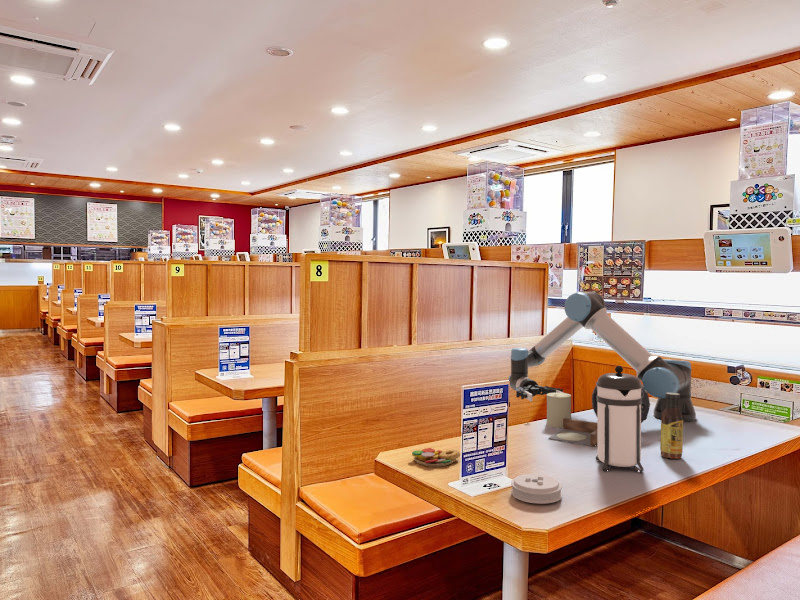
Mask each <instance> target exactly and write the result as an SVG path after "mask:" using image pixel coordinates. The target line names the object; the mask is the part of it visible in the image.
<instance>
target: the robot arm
mask: <svg viewBox="0 0 800 600" xmlns="http://www.w3.org/2000/svg"><path fill="white" fill-rule="evenodd" d="M605 301H606V300H605V299H604V297H603V295H601V294H599V293H598V292H596V291H577V292H574V293H572V294H570V295H569V296H568V297H567V299H565V302H564V312H565V316H566V318H565V319H564V320H562V322H560V323H559V324H558V325H556V326H555V327H554V328H553V329H552V330H550V332H549V333H548V334H546V335H545V336H544V337H543V338H541V340H539V341H538V342H537V343H536V344H535V345H534V346H533V347H532V348H530V349H529V350H528V349H527V347H526V348H525V347H513V348H512V349H511V353H510V375H509V377H508V379H507V381H508V380H509V381H510V386H509V387H510V388H511V389H512V390H513V391H516V392H515V397H516V398H520V400H524V399H526V400H527V401H529V402H533V397H536V395H537V396H538V395H539V396H544V395H547V394H548V393H564V389H562V388H560V387H557V388H556V387H551V386H548V385H544V386H542V385H539V384H538V382H537V381H535V380H534V379H531V378H529V368H533V367H538V366H540V365H542V364H543V363H544V362H545V360H546V359H547V357H549V356H550V355H551V354H552V353H554V352H555V351H556V350H557V349H559V347H562V345H563V344H564V343H566V341H568V340H570V338H571V337H573V336H574V335H575V334H576V333H577V332H578V331H580V330H581V329H583V328H584V329H585V330H592V331H593V332H594V333H595V335H596V336H598V337H599V338H601V340H602V341H603V342H605V344H607V346H609V347H610V348H611V349H612V350H613V351H614V352H615V353H617V355H618V356H619V357H621V358H622V359H623V360H624V361H625V362H626V363H627V364H628V365H629V366H630V367H631V368H632V369H633V370H635V371H636V377H637V378H639V380H640V382H641V383H642V385H643V387H644V388H645V390H646V391H647V392H648V393H647V394H648V395H650V396H651V397H654V398H656V399H657V401H656V402H655V406H654V408H653V416H654V417H655V418H657V419H659V418H660V420H661V419H662V413H663V411H664V410H665V408H666V393H678V394H680V399H679V409H680V412H681V415H682V418H683V423H685V422H693V421H696V419H697V412H696V410H695V408H694V404H693V401H692V370H693V369H692V363H691V362H690V361H689V360H679V359H666V358H662V357H661V356H660V355H653V354H652V353H650V352H649V351H648V350H647V349H646V348H645V347H644V346H643V345H642V344H641V343H639V342H638V341H637V340H636V339H635V338H634V337H633V336H632V335H631V334H630V333H628V331H626V330H625V329H624V328H623V327H622V326H621V325H619V323H618V322H616V321H615V320H614V319H613V317H611V316H610V315H608V313H607V311H608V310H607V308H606V302H605Z"/></svg>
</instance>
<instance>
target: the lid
mask: <svg viewBox="0 0 800 600" xmlns="http://www.w3.org/2000/svg"><path fill="white" fill-rule="evenodd" d="M510 484H511V488H512V489H511V491H510V492H511V495H512V496H513V498H515V499H517V500H519V501H522V502H526V503H531V504H538V505H539V504H540V505H541V504H553V503H555V502H558V501H560V500H562V498H563V495H562V492H561V491H562V487H563V485H562V483H561V482H560V481H558V480H557V479H556V478H554V477H553V476H550V475H546V474H540V473H525V474H520V475H517V476H516V477H515V478H513V479H512V480H511V483H510Z"/></svg>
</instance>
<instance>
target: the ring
mask: <svg viewBox="0 0 800 600" xmlns="http://www.w3.org/2000/svg"><path fill="white" fill-rule="evenodd" d="M641 397H642V404H641V424H642V423H644V421H646V420H647V419H648V414H649V411H650V408H651V403H650V402H651V401H650V397H649V393H648V392H647V391H646V390H645V388H644V387H642V389H641ZM591 408H592V410H593V412H594V414H595V417H597V385H596V384H595V387H594V389H593V390H592V394H591Z"/></svg>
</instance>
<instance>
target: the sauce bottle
mask: <svg viewBox="0 0 800 600" xmlns="http://www.w3.org/2000/svg"><path fill="white" fill-rule="evenodd" d="M679 399H680V394H678V393H666V408H665V410H664V411H663V413H662V419H660V420H661V422H660V443H659V444H660V445H659V448H660V449H659V450H660V456H661V457H662V456H663V457H662V458H665V459H668V458H670V460H680V459H681V458H682V456H683V450H684V449H683V448H684V447H683V445H684V444H683V443H684V439H683V438H684V422H683V418H682V415H681V412H680V409H679Z"/></svg>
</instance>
